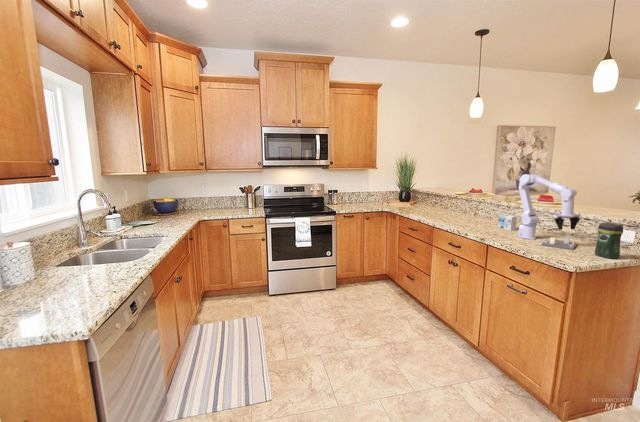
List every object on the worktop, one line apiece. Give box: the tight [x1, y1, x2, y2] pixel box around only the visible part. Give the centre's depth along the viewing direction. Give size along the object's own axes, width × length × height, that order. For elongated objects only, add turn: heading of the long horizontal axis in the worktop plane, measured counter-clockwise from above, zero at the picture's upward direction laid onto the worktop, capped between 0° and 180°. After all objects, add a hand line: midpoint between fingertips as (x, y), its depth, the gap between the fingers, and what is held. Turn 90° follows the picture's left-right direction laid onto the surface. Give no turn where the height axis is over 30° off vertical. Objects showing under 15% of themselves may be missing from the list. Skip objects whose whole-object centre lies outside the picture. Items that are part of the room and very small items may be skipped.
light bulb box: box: [497, 214, 518, 231], centre depth 232 cm, size 11×7×11 cm, turn 25°
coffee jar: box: [594, 222, 624, 260], centre depth 160 cm, size 10×8×19 cm
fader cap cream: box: [549, 237, 557, 244], centre depth 184 cm, size 2×3×4 cm
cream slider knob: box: [563, 236, 571, 244], centre depth 185 cm, size 2×3×4 cm
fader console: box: [541, 238, 578, 251], centre depth 185 cm, size 15×18×2 cm
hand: (566, 229), depth 183 cm, fingers open, 7 cm apart
